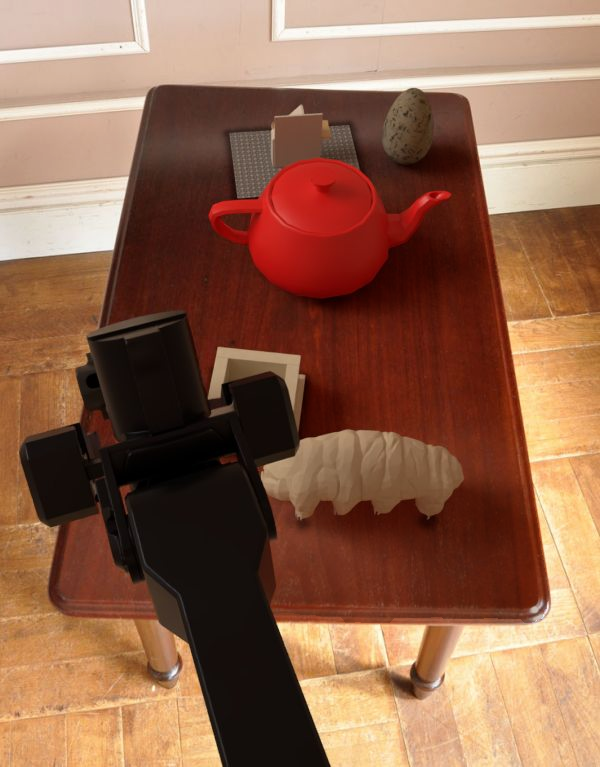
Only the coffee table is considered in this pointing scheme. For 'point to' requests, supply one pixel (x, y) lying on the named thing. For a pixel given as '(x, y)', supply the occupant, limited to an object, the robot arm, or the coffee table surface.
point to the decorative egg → (408, 128)
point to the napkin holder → (286, 149)
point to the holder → (259, 372)
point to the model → (364, 473)
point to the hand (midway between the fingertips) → (153, 420)
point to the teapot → (321, 228)
